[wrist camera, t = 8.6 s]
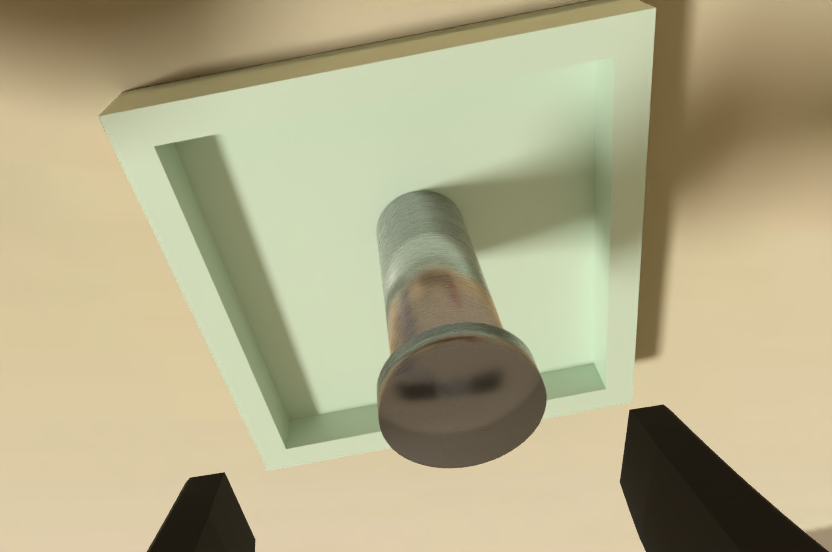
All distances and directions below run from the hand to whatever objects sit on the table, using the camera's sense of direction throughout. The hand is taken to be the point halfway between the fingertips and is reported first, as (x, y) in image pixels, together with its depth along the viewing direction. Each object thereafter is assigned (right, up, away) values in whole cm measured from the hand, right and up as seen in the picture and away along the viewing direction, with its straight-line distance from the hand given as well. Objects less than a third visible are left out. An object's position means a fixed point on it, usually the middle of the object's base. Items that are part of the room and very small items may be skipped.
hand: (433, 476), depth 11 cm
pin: (0, +5, +8) cm, 10 cm away
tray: (0, +4, +10) cm, 10 cm away
